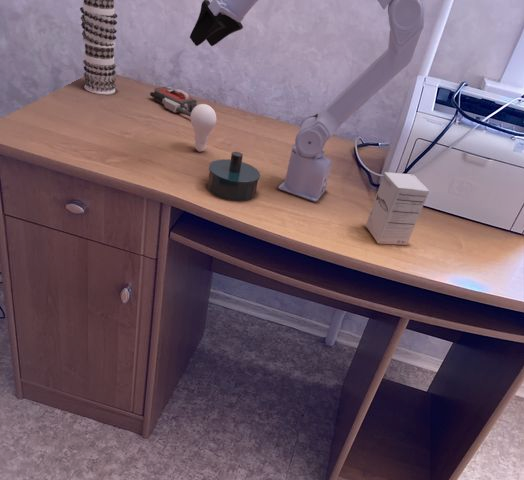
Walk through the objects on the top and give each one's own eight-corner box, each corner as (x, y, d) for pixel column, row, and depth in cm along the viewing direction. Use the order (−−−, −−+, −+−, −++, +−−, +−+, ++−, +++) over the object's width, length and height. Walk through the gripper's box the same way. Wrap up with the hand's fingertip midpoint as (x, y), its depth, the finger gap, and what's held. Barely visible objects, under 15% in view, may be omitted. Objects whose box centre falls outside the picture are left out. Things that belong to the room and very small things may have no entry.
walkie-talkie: (143, 99, 150) (195, 124, 143) (144, 82, 147) (197, 107, 140) (165, 95, 156) (216, 119, 148) (166, 80, 153) (218, 103, 146)
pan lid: (266, 175, 117) (270, 154, 114) (247, 192, 109) (251, 170, 106) (221, 159, 119) (224, 138, 116) (199, 174, 111) (201, 152, 107)
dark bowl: (262, 189, 119) (265, 172, 116) (244, 206, 111) (247, 188, 109) (220, 174, 121) (222, 157, 118) (199, 190, 113) (201, 172, 110)
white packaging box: (364, 226, 115) (383, 170, 106) (394, 228, 117) (415, 173, 109) (376, 244, 109) (397, 187, 101) (407, 245, 112) (431, 190, 103)
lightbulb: (183, 152, 127) (187, 104, 120) (192, 144, 131) (196, 98, 124) (207, 158, 126) (213, 111, 119) (215, 150, 131) (221, 104, 124)
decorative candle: (110, 97, 146) (110, -9, 130) (77, 89, 145) (73, -18, 129) (121, 88, 153) (122, -13, 137) (89, 81, 152) (87, -22, 136)
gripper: (247, -28, 105) (202, 26, 112) (220, -38, 93) (172, 23, 100) (269, 4, 106) (224, 54, 114) (245, -2, 94) (196, 54, 102)
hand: (201, 41), depth 107 cm, fingers open, 7 cm apart
